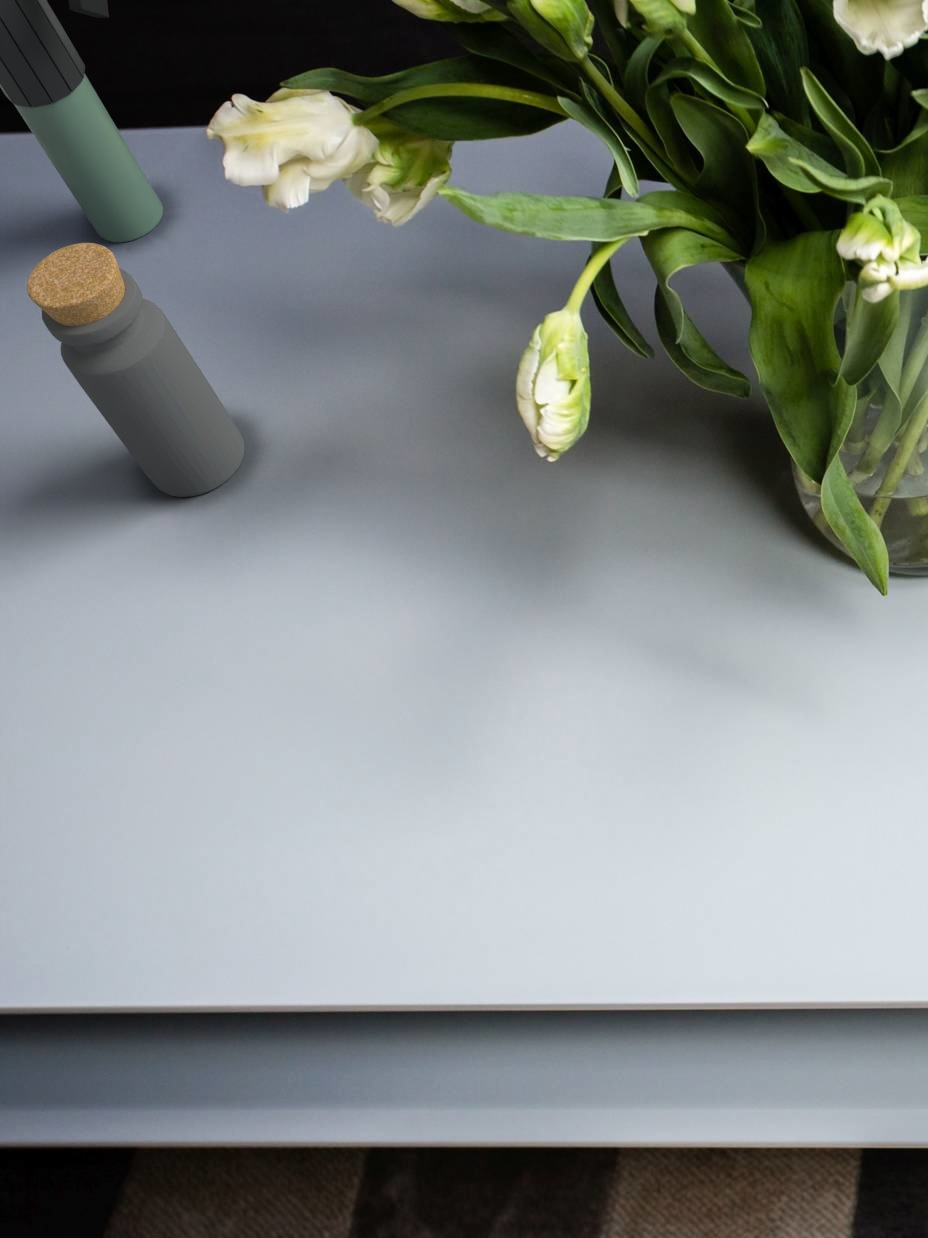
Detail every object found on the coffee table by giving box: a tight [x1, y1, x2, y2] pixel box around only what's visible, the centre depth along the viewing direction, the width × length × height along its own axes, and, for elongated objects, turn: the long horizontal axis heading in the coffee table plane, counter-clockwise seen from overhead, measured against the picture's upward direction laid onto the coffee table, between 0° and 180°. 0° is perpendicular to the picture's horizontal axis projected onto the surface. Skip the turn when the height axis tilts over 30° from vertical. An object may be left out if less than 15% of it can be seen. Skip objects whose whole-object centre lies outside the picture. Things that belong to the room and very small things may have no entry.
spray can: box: [13, 72, 164, 243], centre depth 104 cm, size 5×5×13 cm
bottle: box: [26, 242, 246, 498], centre depth 91 cm, size 6×6×15 cm
